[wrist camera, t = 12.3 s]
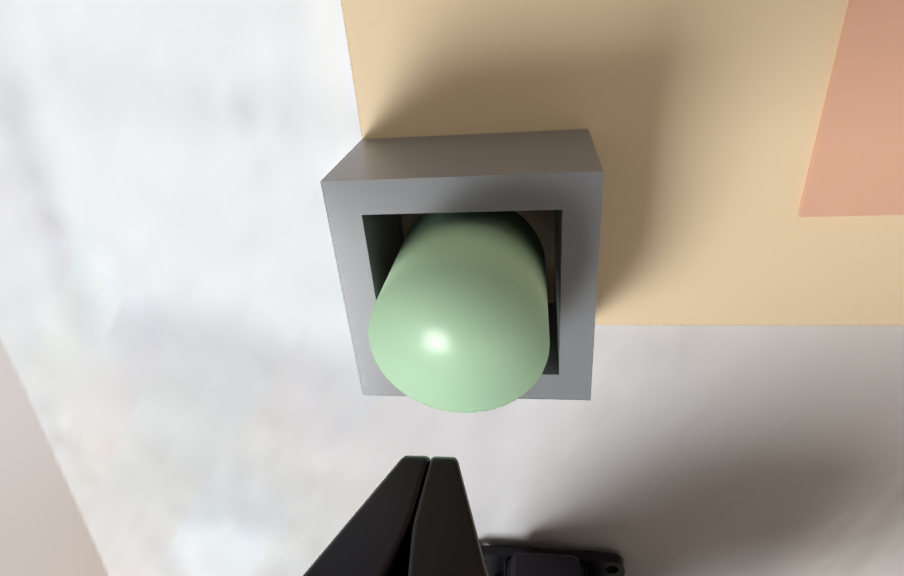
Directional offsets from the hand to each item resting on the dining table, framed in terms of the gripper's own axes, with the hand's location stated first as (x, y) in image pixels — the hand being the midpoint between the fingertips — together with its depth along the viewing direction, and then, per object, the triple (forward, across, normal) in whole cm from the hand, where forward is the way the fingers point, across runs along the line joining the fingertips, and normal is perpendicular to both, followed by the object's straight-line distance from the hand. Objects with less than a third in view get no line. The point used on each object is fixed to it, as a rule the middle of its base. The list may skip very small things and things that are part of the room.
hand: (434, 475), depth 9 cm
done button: (+7, 0, 0) cm, 7 cm away
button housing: (+9, 0, 0) cm, 9 cm away
